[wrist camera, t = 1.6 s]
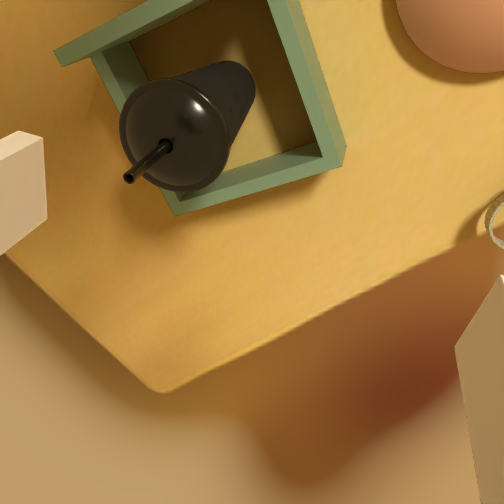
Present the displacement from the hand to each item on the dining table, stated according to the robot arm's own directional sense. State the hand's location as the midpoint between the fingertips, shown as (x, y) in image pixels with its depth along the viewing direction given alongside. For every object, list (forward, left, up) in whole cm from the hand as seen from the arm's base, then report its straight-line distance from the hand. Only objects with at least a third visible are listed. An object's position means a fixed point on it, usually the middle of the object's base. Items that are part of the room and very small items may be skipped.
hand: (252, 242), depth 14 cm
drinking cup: (-1, -10, -31) cm, 32 cm away
